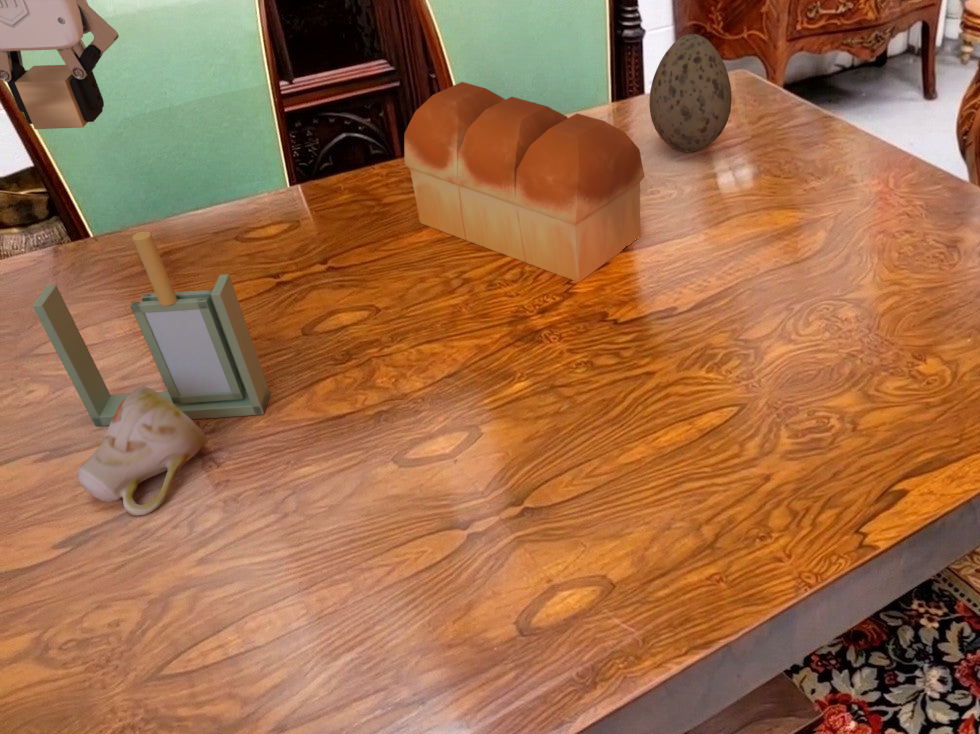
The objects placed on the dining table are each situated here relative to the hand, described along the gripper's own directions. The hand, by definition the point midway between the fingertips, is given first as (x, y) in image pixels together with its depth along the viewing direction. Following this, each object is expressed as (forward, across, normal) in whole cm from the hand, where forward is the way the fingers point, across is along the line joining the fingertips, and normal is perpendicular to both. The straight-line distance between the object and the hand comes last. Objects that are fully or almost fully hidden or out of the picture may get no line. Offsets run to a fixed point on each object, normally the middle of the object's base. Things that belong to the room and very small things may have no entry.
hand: (65, 115), depth 89 cm
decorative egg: (+18, +65, +28) cm, 73 cm away
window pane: (+18, +13, -22) cm, 32 cm away
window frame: (+20, +11, -22) cm, 31 cm away
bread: (+19, +43, +8) cm, 47 cm away
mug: (+20, +10, -30) cm, 38 cm away
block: (0, 0, 0) cm, 0 cm away
